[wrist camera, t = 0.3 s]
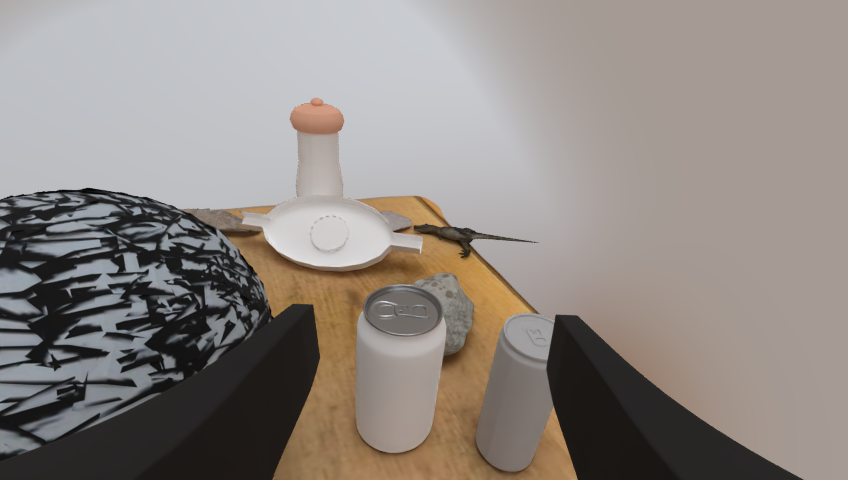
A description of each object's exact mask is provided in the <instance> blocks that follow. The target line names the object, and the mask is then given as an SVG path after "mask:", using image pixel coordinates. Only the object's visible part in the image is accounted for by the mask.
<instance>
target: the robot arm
mask: <svg viewBox="0 0 848 480" xmlns="http://www.w3.org/2000/svg"><path fill="white" fill-rule="evenodd" d="M319 360H320V353H319V346H318V338H317V331H316V323H315V316H314V308H313V305H309V304H292V305H291V306H289V307H288V308H287V309H285V310H284V311H283V312H281V313H280V314H279V315H277V316H276V317H275V318H274V319H272V320H271V321H270V322H268V323H267V324H266V325H265V326H263V327H262V328H261V329H259V330H258V331H257V332H255V333H254V334H253V335H251V336H250V337H249V338H247V339H246V340H245V341H243V342H242V343H241V344H239V345H238V346H236V347H235V348H233V349H232V350H230V351H229V352H228V353H226V354H225V355H223V356H222V357H220V358H219V359H217V360H216V361H215V362H213V363H212V364H210V365H209V366H207V367H205V368H204V369H202V370H201V371H199V372H197V373H196V374H194V375H193V376H191V377H189V378H187V379H186V380H184V381H182V382H181V383H179V384H177V385H175V386H174V387H172V388H170V389H168V390H166V391H165V392H163V393H161V394H159V395H157V396H155V397H153V398H151V399H149V400H147V401H145V402H143V403H141V404H139V405H137V406H135V407H133V408H131V409H129V410H127V411H125V412H123V413H121V414H119V415H116V416H114V417H112V418H110V419H107V420H105V421H103V422H101V423H99V424H96V425H94V426H91V427H89V428H87V429H84V430H82V431H80V432H77V433H75V434H72V435H70V436H67V437H65V438H62V439H60V440H57V441H54V442H52V443H49V444H46V445H44V446H41V447H38V448H36V449H33V450H30V451H27V452H25V453H22V454H19V455H17V456H14V457H11V458H8V459H5V460H2V461H0V480H272V479H273V476H274V473H275V470H276V468H277V465H278V463H279V460H280V458H281V456H282V453H283V451H284V449H285V447H286V445H287V442H288V440H289V438H290V436H291V433H292V431H293V429H294V427H295V424H296V422H297V420H298V418H299V415H300V413H301V411H302V408H303V406H304V404H305V402H306V399H307V397H308V395H309V392H310V390H311V387H312V384H313V381H314V377H315V374H316V371H317V367H318V363H319ZM546 371H547V377H548V382H549V388H550V393H551V397H552V402H553V405H554V408H555V411H556V414H557V418H558V421H559V424H560V427H561V430H562V433H563V436H564V439H565V442H566V445H567V448H568V451H569V454H570V457H571V460H572V463H573V466H574V469H575V472H576V475H577V478H578V480H803V479H801V478H799V477H798V476H796V475H794V474H792V473H790V472H788V471H786V470H784V469H783V468H781V467H779V466H777V465H775V464H774V463H772V462H770V461H768V460H766V459H765V458H763V457H761V456H759V455H758V454H756V453H754V452H752V451H751V450H749V449H747V448H746V447H744V446H742V445H741V444H739V443H738V442H736V441H734V440H732V439H731V438H729V437H728V436H726V435H725V434H723V433H721V432H720V431H718V430H716V429H715V428H714V427H712V426H710V425H709V424H707V423H706V422H704V421H703V420H701V419H700V418H698V417H697V416H696V415H694V414H693V413H691V412H690V411H688V410H687V409H686V408H684V407H683V406H682V405H680V404H679V403H677V402H676V401H675V400H673V399H672V398H671V397H669V396H668V395H667V394H665V393H664V392H663V391H661V390H660V389H659V388H658V387H656V386H655V385H654V384H653V383H651V382H650V381H649V380H648V379H647V378H645V377H644V376H643V375H642V374H640V373H639V372H638V371H637V370H636V369H635V368H633V367H632V366H631V365H630V364H629V363H628V362H627V361H625V360H624V359H623V358H622V357H621V356H620V355H619V354H618V353H616V352H615V351H614V350H613V349H612V348H611V347H610V346H609V345H608V344H607V343H606V342H605V341H604V340H603V339H602V338H601V337H599V336H598V335H597V334H596V333H595V332H594V331H593V330H592V329H591V328H590V327H589V326H588V325H587V324H586V323H585V322H584V321H583V320H581V319H580V318H579V317H578V316H576V315H575V316H574V315H556V316H555V322H554V327H553V333H552V338H551V344H550V349H549V355H548V360H547V366H546Z"/></svg>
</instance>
